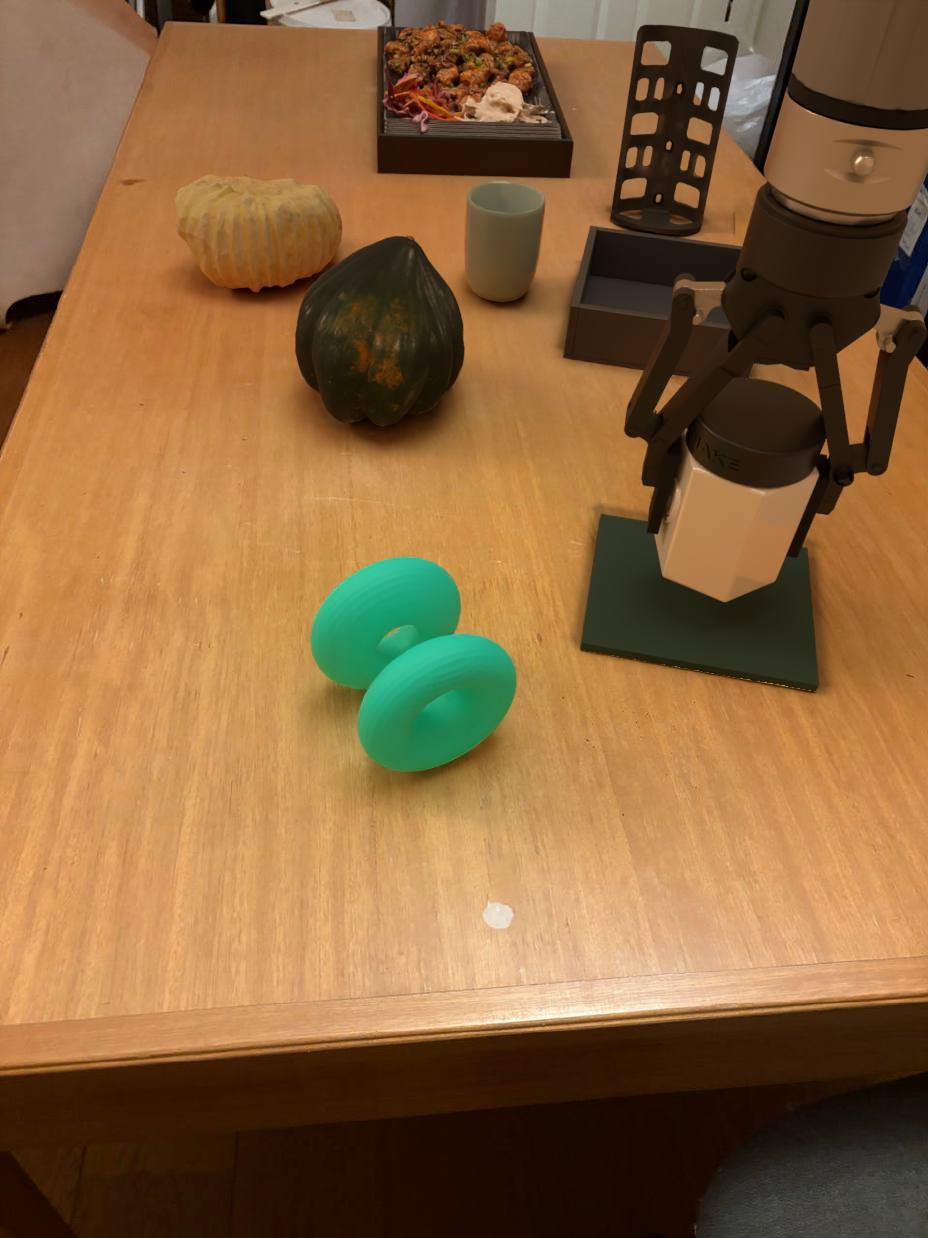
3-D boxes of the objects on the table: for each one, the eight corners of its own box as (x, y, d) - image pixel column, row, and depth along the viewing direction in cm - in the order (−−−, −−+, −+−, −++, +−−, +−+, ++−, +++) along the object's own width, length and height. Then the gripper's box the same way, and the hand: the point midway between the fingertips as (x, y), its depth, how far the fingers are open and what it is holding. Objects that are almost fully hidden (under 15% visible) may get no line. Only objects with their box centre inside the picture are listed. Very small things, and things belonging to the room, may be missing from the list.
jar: (646, 513, 68) (682, 369, 59) (756, 518, 68) (809, 375, 59) (663, 601, 62) (706, 455, 53) (784, 606, 62) (847, 461, 53)
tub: (745, 296, 100) (759, 248, 96) (746, 385, 88) (763, 333, 84) (582, 274, 102) (590, 225, 98) (563, 357, 90) (570, 305, 86)
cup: (453, 304, 96) (458, 206, 88) (471, 270, 101) (476, 175, 94) (527, 316, 95) (538, 218, 87) (541, 281, 100) (552, 186, 93)
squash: (241, 375, 75) (358, 252, 67) (291, 293, 86) (398, 178, 77) (371, 486, 81) (494, 386, 73) (403, 397, 92) (513, 301, 83)
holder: (609, 231, 109) (642, 31, 95) (604, 210, 114) (635, 19, 101) (703, 238, 109) (749, 40, 96) (693, 217, 114) (735, 28, 101)
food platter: (569, 177, 119) (580, 89, 112) (377, 172, 118) (376, 82, 110) (530, 63, 150) (537, -13, 142) (377, 57, 148) (376, -19, 140)
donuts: (444, 636, 64) (450, 527, 57) (517, 742, 58) (534, 636, 51) (309, 685, 61) (296, 576, 53) (372, 804, 55) (368, 699, 48)
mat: (804, 555, 72) (807, 547, 71) (815, 693, 62) (819, 685, 62) (599, 520, 74) (600, 513, 73) (579, 650, 64) (581, 642, 63)
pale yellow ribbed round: (357, 309, 99) (324, 218, 106) (359, 220, 90) (323, 127, 97) (195, 328, 95) (172, 232, 101) (181, 237, 85) (157, 138, 92)
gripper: (618, 195, 45) (559, 541, 62) (1075, 256, 43) (888, 598, 60) (629, 140, 50) (572, 473, 67) (1039, 192, 48) (875, 523, 65)
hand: (721, 532), depth 63 cm, fingers closed on jar, 8 cm apart
